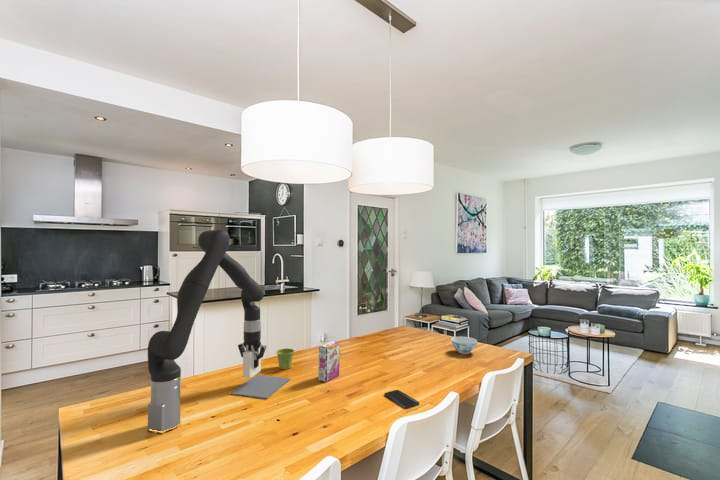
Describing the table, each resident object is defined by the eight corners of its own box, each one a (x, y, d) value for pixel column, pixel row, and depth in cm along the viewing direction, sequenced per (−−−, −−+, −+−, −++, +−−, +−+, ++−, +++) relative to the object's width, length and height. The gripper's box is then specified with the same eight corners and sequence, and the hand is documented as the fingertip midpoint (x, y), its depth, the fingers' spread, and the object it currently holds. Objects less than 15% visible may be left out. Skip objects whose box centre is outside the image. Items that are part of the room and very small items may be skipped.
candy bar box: (326, 383, 162) (326, 347, 162) (318, 380, 164) (318, 346, 165) (340, 375, 171) (340, 342, 172) (331, 373, 174) (332, 340, 174)
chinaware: (450, 355, 204) (450, 341, 204) (451, 347, 218) (451, 335, 219) (477, 357, 200) (477, 344, 200) (476, 350, 214) (476, 337, 214)
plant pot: (296, 369, 179) (296, 352, 179) (277, 371, 176) (277, 354, 176) (292, 363, 188) (292, 347, 188) (274, 365, 184) (275, 349, 185)
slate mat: (266, 399, 144) (266, 397, 144) (229, 394, 149) (229, 392, 149) (290, 379, 166) (290, 378, 166) (257, 375, 170) (257, 374, 170)
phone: (397, 389, 153) (420, 402, 141) (397, 392, 153) (420, 405, 140) (383, 393, 149) (405, 407, 136) (383, 396, 149) (405, 410, 136)
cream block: (249, 378, 154) (249, 353, 154) (242, 377, 155) (243, 352, 155) (260, 370, 163) (260, 347, 163) (254, 370, 164) (254, 346, 164)
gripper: (233, 330, 157) (233, 368, 157) (261, 332, 154) (261, 371, 153) (243, 326, 165) (243, 363, 164) (270, 328, 161) (270, 365, 161)
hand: (251, 366), depth 159 cm, fingers closed on cream block, 3 cm apart
